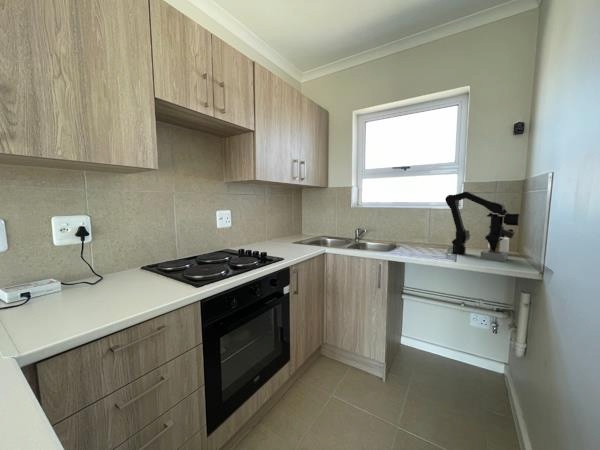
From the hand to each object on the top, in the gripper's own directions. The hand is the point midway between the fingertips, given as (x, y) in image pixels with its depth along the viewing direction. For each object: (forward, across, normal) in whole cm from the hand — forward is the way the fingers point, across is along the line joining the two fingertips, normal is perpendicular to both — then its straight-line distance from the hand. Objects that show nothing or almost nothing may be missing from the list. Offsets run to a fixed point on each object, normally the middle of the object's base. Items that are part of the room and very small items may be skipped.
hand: (494, 250), depth 147 cm
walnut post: (+4, 0, 0) cm, 4 cm away
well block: (+5, 0, 0) cm, 5 cm away
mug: (+5, +19, +2) cm, 20 cm away
